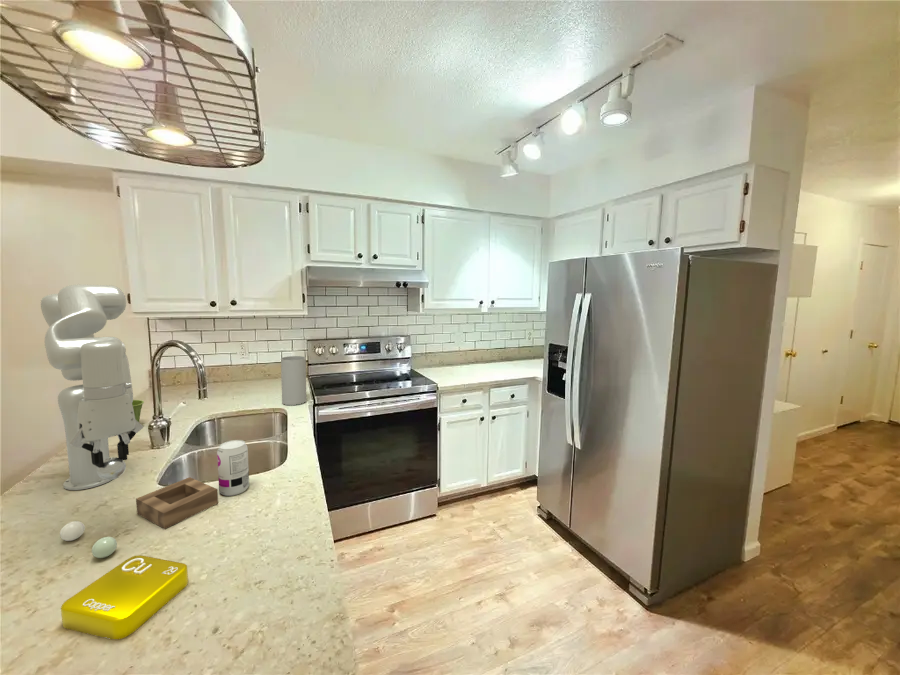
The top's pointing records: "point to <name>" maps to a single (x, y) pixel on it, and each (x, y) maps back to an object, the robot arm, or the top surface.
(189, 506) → the frame
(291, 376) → the cylinder vase
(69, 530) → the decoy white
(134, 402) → the plant pot
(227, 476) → the supplement can
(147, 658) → the top surface
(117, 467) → the steel ball
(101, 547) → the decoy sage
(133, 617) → the element tile
